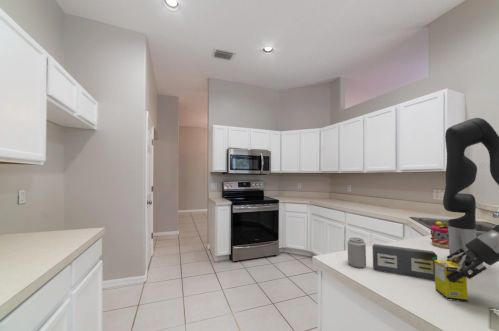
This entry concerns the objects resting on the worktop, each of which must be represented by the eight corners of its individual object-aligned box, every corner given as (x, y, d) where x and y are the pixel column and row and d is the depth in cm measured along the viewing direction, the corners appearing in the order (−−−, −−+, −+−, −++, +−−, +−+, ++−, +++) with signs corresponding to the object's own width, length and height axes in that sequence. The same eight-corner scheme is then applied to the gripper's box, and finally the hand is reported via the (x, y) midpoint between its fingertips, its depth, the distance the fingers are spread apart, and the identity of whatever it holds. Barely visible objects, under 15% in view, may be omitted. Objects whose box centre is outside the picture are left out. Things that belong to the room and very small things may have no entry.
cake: (427, 244, 124) (426, 219, 124) (436, 242, 128) (435, 218, 129) (450, 250, 114) (448, 223, 115) (458, 247, 118) (457, 221, 119)
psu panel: (435, 277, 83) (434, 251, 84) (439, 281, 80) (437, 254, 81) (372, 267, 93) (372, 243, 93) (374, 270, 89) (373, 245, 90)
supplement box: (468, 302, 67) (466, 268, 68) (447, 299, 68) (445, 266, 69) (454, 292, 73) (453, 261, 73) (435, 290, 74) (433, 259, 75)
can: (365, 270, 90) (365, 242, 90) (347, 266, 94) (346, 239, 94) (366, 264, 96) (365, 238, 97) (348, 260, 100) (348, 235, 101)
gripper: (468, 232, 74) (429, 258, 79) (489, 243, 62) (440, 273, 67) (491, 249, 71) (448, 275, 76) (517, 265, 59) (464, 294, 64)
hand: (444, 274), depth 71 cm, fingers open, 8 cm apart
